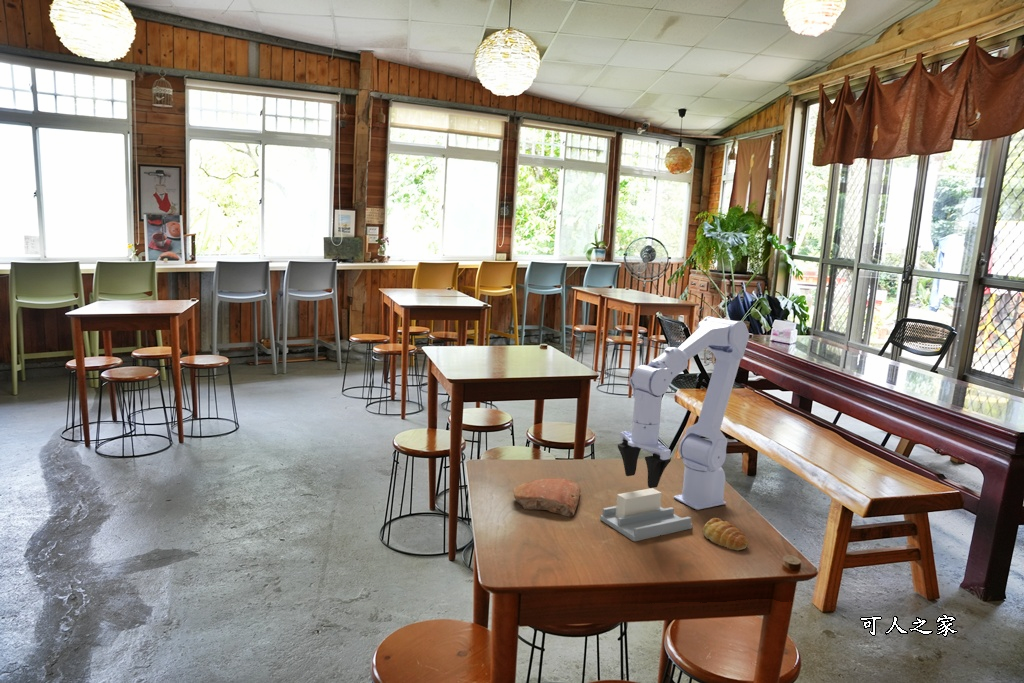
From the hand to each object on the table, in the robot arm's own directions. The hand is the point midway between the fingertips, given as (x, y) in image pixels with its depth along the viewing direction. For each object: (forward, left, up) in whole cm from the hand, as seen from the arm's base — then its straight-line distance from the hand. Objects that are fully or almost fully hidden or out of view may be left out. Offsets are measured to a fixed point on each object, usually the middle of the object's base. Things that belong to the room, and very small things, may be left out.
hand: (641, 481), depth 151 cm
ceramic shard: (+14, -17, -9) cm, 23 cm away
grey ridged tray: (0, +3, -9) cm, 9 cm away
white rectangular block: (0, 0, -8) cm, 8 cm away
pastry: (-10, +16, -9) cm, 21 cm away
